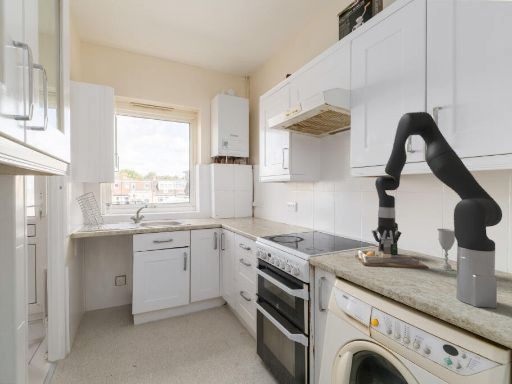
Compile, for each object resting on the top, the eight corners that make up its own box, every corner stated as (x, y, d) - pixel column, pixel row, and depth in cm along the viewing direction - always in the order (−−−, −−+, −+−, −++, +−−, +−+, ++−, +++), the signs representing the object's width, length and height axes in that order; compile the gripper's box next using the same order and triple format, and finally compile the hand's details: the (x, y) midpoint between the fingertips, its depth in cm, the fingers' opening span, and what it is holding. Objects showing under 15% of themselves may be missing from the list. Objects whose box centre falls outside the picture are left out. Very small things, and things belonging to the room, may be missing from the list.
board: (428, 268, 114) (428, 260, 114) (364, 265, 117) (364, 257, 117) (411, 259, 130) (411, 251, 130) (355, 256, 133) (355, 249, 133)
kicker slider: (391, 260, 121) (391, 240, 121) (382, 260, 122) (382, 239, 122) (387, 257, 126) (387, 238, 126) (378, 257, 127) (379, 238, 126)
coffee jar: (400, 256, 136) (401, 222, 136) (388, 256, 134) (388, 222, 134) (387, 251, 145) (388, 220, 145) (375, 252, 144) (376, 220, 144)
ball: (366, 259, 123) (375, 261, 123) (369, 251, 123) (377, 253, 122) (364, 257, 127) (372, 259, 126) (366, 249, 127) (374, 251, 126)
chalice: (443, 266, 119) (443, 228, 118) (459, 270, 112) (460, 230, 112) (433, 267, 116) (433, 229, 116) (449, 272, 109) (449, 231, 109)
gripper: (374, 216, 121) (373, 252, 121) (405, 217, 119) (404, 253, 119) (369, 215, 128) (368, 248, 128) (398, 216, 126) (397, 249, 127)
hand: (386, 250), depth 124 cm, fingers closed on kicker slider, 3 cm apart
